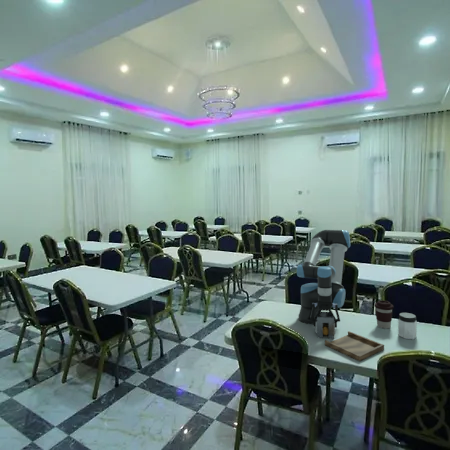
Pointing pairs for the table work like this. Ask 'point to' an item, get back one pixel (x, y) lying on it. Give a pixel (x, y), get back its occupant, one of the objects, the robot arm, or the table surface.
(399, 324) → the jar
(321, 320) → the grey piece
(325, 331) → the ball
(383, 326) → the coffee cup
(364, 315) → the table surface
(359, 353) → the tray
